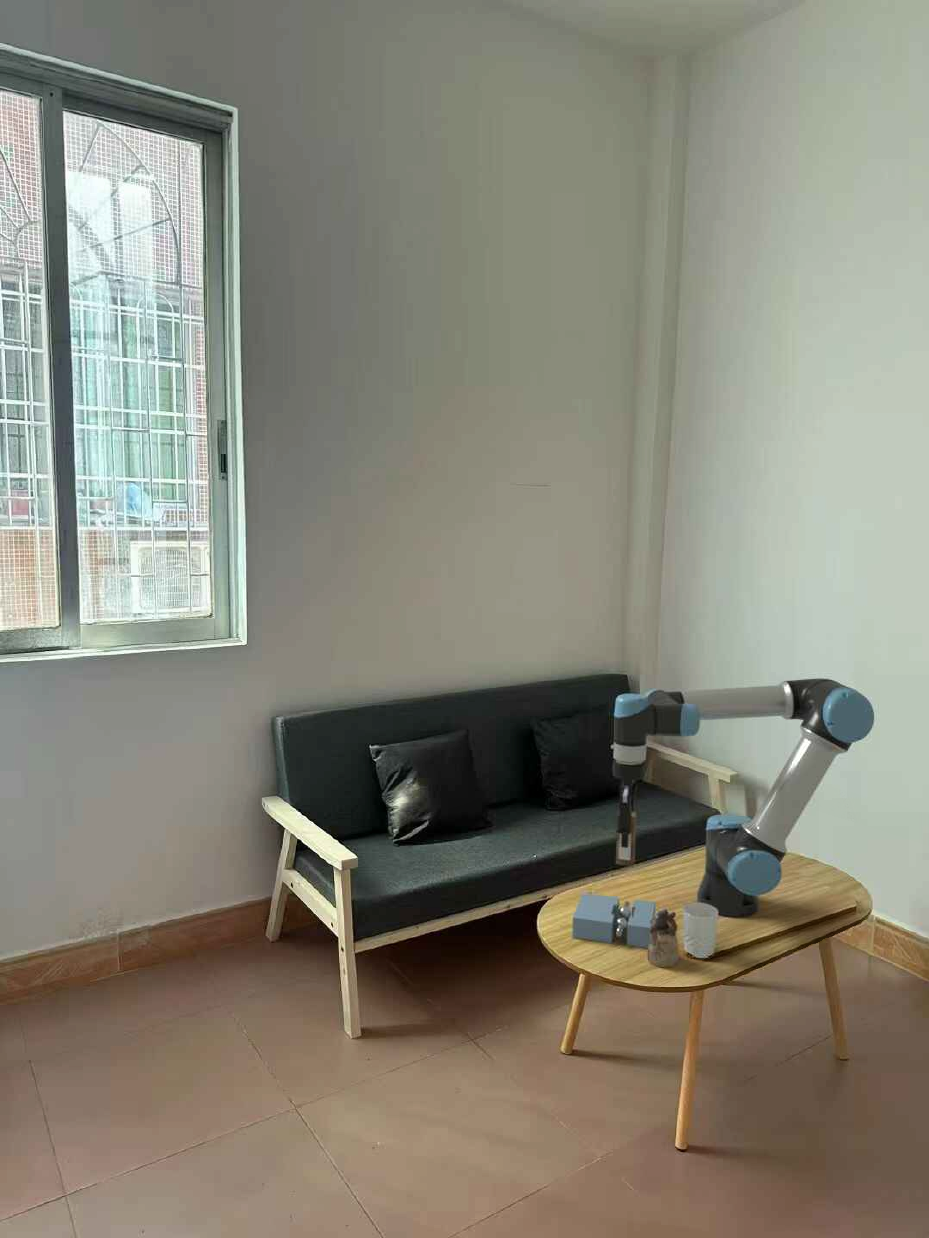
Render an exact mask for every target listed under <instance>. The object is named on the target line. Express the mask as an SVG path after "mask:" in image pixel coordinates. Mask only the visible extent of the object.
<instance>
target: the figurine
mask: <svg viewBox="0 0 929 1238" xmlns="http://www.w3.org/2000/svg"><path fill="white" fill-rule="evenodd" d="M676 916H677V913H676V912H675V911H672V912H671V913H669V911H668V910H667V909H666V908H661V909H659V910H657V911H655V914H654V917H653V919H652V920H651V921H650V923H651V929H650V932H651V933H652V934H651V937H650V942H649V947H648V948H647V952H646V957H647V958H646V959H647V963H649V964H650V965H651V966H655V967H658V968H672V967H675V966H677V965H678V964H679V961H680V948H679V941H678V938H677V937H678V936H677V933H676V932H677V930H678V925H677V920H675V917H676Z"/></svg>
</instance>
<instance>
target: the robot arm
mask: <svg viewBox="0 0 929 1238" xmlns="http://www.w3.org/2000/svg"><path fill="white" fill-rule="evenodd" d="M613 716H614V720H613V722H614V723H613V725H614V726H613V727H614V728H613V744H611V746H610V748H611V750H613V751H612V752H613V754H612V755H613V756H612V758H613V760H612V776H614V777H615V778H616V779H620V780H621V781H620V783H619V785H618V793H619V794H618V795H619V796H618V798H619V800H618V801H619V811H618V813H619V830H617V829H616V830H615V831H616V834H617V833H619V859H623V860H630V857H631V815H632V811H636V798H637V789H638V783H637V781H639V780H643V779H644V777H645V775H646V761H645V760H646V759H647V757H646V756H647V737H682V738H684V737H693V736H696V735H697V734H698V732H699V730H700V724H701V721H710V720H711V721H713V720H731V719H732V720H733V719H748V718H749V719H750V718H764V717H765V718H767V717H768V718H769V717H782V718H783V719H784V720H785V721H787V720H801V721H802V722H801V724H800V726H799V728H800V731H801V733H802V734H801V737H800V739H799V741H798V742H797V744H796V745H795V747H794V749H793V751H792V753H791V754H790V756H789V757H788V759H787V761H786V763H785V764H784V766H783V768H782V769H781V771H780V773H779V775H778V776H777V778H776V780H775V781H774V783H773V785H772V787H771V788H770V790H769V792H768V793H767V795H766V797H765V798H764V800H763V801H762V803H761V805H760V807H759V808H758V810H757V811H756V813H755V815H754V817H753V818H750V817H748V816H744V815H739V814H723V813H722V814H716V815H712V816H710V817H709V818H707V821H706V828H705V832H706V833H705V834H706V835H705V836H706V837H705V867H704V868H705V870H704V874H703V877H702V879H701V881H700V884H699V887H698V889H697V892H696V893H697V894H696V901H697V902H696V903H705V904H709V905H711V906H713V907H715V908H716V909H717V910H718V916H724V917H730V918H731V917H732V918H733V917H735V918H737V917H738V918H739V917H747V916H750V915H753V914H756V912H758V911H759V904H760V903H759V902H760V901H759V896H761V895H767V894H769V893H770V892H772V891H773V890H775V889H776V888H777V886H778V885H779V883H780V882H781V879H782V874H783V871H782V865H781V863H782V861H783V859H784V858H785V856H786V854H787V853H788V850H787V849H788V848H787V847H786V840H787V839H788V837H789V835H790V833H791V832H792V830H793V829H794V826H796V824H797V822H798V821H799V818H800V817H801V816H802V814H803V812H804V811H805V808H806V807H807V806H808V804H809V802H810V800H811V798H812V797H813V795H814V794H815V792H816V790H817V788H818V787H819V785H820V784H821V782H822V780H823V778H824V777H825V775H826V774H827V772H828V770H830V769H829V768H830V767H831V765H832V763H833V762H834V760H835V759H836V757H837V756H838V755H839V754H840V755H841V754H844V753H848V751H849V749H850V747H851V746H852V744H853V743H856V742H858V741H861V740H864V739H865V738H866V737H867V736H868V735H869V733H870V732H871V730H872V729H873V727H874V724H875V723H874V722H875V712H874V708H873V705H872V703H871V702H870V700H869V699H868V698H867V697H866V696H865V695H864V694H862V693H861V692H860V691H858V690H857V689H854V688H851V687H849V686H846V685H844V684H842V683H839V682H838V681H836V680H833V679H829V678H819V677H818V678H806V679H805V678H804V679H794V680H782V681H780V683H779V684H777V685H764V686H763V685H762V686H747V687H745V686H744V687H731V688H730V687H729V688H716V689H715V688H711V689H697V690H683V691H682V690H681V691H665V690H663V689H659V688H655V689H651V690H648V691H647V692H646V693H645V694H644V695H643V694H639V693H623V694H619V695H618V696H617V697H616V699H615V706H614V713H613ZM637 822H638V821H637V820H636V825H637Z"/></svg>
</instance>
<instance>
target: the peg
mask: <svg viewBox="0 0 929 1238" xmlns="http://www.w3.org/2000/svg"><path fill="white" fill-rule="evenodd" d="M616 819H617V820H616V821H617V822H616V831H617V830H619V812H618V813H617V818H616ZM636 821H637V811H636V810H635V811H632V815H631V857H630V860H623V859H619V833H616V846H615V847H616V850H615V865H621V866H630V867H633V866H634V864H635V863H634V862H635V858H636V837H637V836H636V835H637V824H636Z"/></svg>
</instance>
